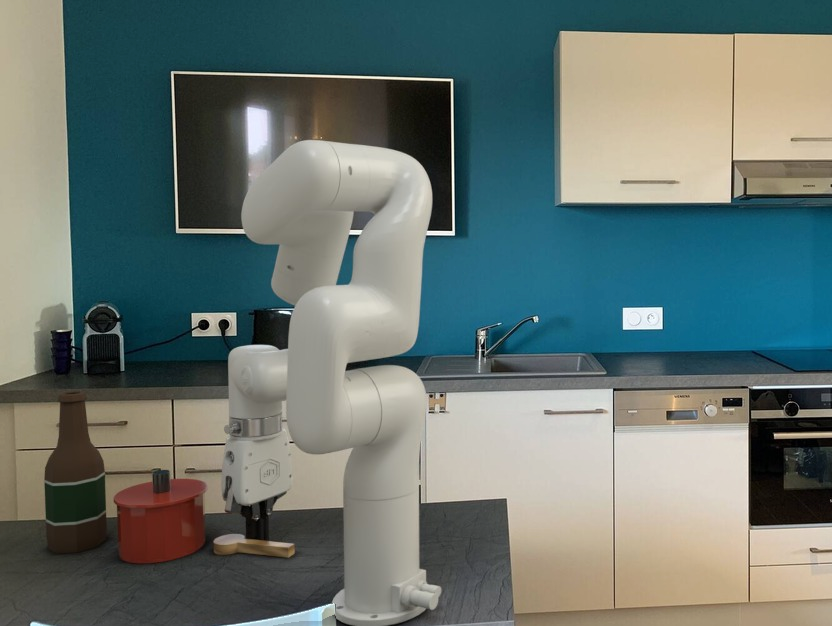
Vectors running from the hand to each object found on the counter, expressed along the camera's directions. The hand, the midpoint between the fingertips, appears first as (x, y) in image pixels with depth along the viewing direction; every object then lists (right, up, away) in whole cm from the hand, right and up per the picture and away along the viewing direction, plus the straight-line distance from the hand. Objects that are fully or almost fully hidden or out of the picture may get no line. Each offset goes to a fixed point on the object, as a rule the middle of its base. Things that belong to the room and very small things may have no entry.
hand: (257, 540), depth 121 cm
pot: (-14, -1, -1) cm, 14 cm away
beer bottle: (-28, -1, 0) cm, 28 cm away
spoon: (0, -1, -2) cm, 2 cm away
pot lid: (-14, +8, -2) cm, 16 cm away
